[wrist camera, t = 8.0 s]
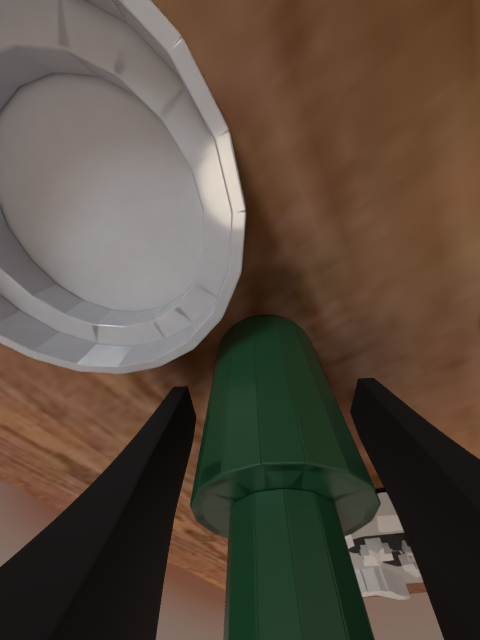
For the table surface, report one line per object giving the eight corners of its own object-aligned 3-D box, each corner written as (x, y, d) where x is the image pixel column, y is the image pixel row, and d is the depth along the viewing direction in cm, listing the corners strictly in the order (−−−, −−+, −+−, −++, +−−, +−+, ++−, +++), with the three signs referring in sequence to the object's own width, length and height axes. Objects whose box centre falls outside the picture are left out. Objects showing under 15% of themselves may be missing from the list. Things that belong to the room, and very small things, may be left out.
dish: (302, 201, 8) (330, 203, 6) (161, 363, 13) (137, 410, 10) (-7, -133, 5) (-293, -507, 2) (-59, 235, 9) (-187, 251, 7)
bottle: (330, 351, 12) (519, 696, 4) (266, 400, 14) (295, 695, 6) (262, 295, 10) (323, 672, 2) (200, 358, 12) (110, 682, 4)
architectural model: (674, 448, 15) (735, 484, 13) (551, 571, 28) (574, 598, 27) (215, 511, 22) (213, 541, 20) (287, 587, 35) (289, 610, 33)
